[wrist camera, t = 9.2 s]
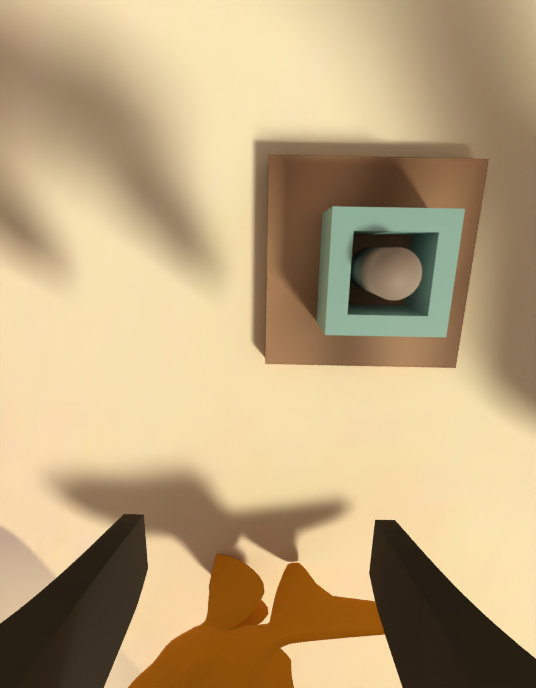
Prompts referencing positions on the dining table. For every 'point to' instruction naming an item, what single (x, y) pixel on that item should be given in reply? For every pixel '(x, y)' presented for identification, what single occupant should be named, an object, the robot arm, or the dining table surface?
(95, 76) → the dining table surface
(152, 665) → the toy
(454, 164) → the post block
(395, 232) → the collar
